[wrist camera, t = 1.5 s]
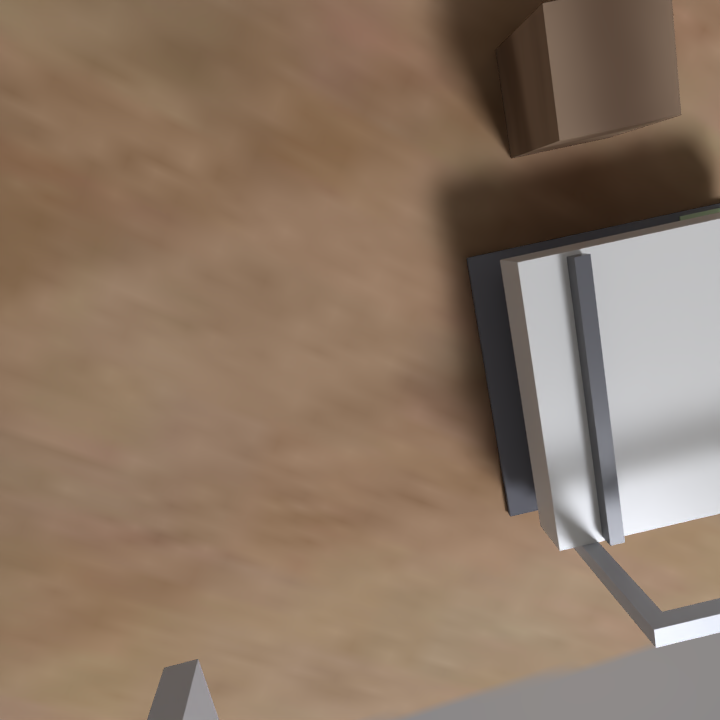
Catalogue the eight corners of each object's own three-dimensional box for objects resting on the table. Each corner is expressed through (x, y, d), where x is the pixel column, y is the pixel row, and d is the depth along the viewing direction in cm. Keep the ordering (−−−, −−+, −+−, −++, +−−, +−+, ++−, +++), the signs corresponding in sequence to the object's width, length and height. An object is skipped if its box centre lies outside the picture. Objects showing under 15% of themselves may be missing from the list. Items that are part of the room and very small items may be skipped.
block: (510, 158, 30) (559, 140, 24) (495, 49, 28) (542, 3, 23) (608, 137, 30) (681, 114, 24) (596, 29, 29) (669, -23, 23)
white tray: (531, 523, 33) (628, 654, 23) (489, 258, 30) (581, 272, 20) (755, 471, 34) (950, 577, 23) (738, 204, 30) (955, 190, 20)
